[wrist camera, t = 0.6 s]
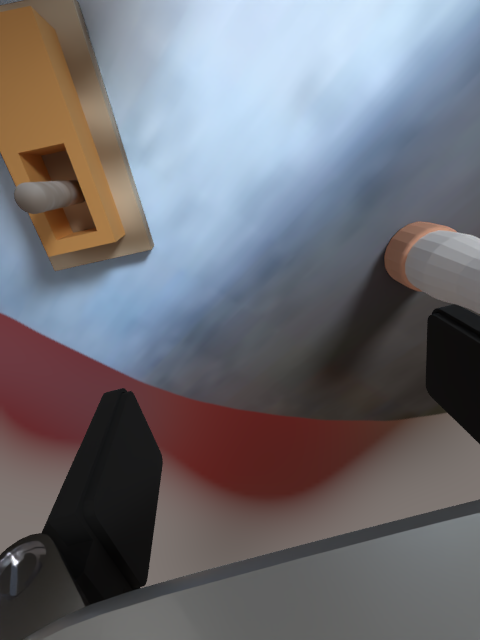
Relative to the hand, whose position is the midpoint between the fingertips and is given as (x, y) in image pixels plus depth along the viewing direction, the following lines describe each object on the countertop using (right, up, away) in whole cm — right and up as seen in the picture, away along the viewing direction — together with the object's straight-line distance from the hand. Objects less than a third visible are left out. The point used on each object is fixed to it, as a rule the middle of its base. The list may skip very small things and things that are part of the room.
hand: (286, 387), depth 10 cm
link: (-17, +17, +19) cm, 30 cm away
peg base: (-17, +18, +20) cm, 32 cm away
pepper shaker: (+19, +10, +28) cm, 36 cm away
